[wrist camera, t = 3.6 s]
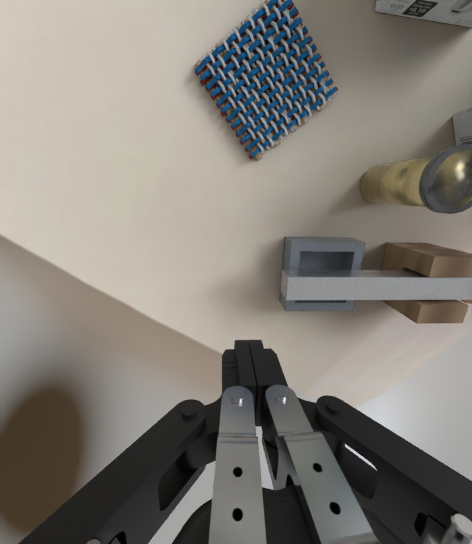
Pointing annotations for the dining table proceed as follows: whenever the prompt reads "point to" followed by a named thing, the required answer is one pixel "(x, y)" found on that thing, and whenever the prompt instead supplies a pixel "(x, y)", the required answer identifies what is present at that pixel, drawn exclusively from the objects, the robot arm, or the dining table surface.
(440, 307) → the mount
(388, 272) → the pin
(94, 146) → the dining table surface
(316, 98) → the woven mat
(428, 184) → the yellow glass jar
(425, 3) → the light bulb box
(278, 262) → the dining table surface
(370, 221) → the dining table surface
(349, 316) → the dining table surface
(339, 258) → the box
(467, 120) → the coffee box
